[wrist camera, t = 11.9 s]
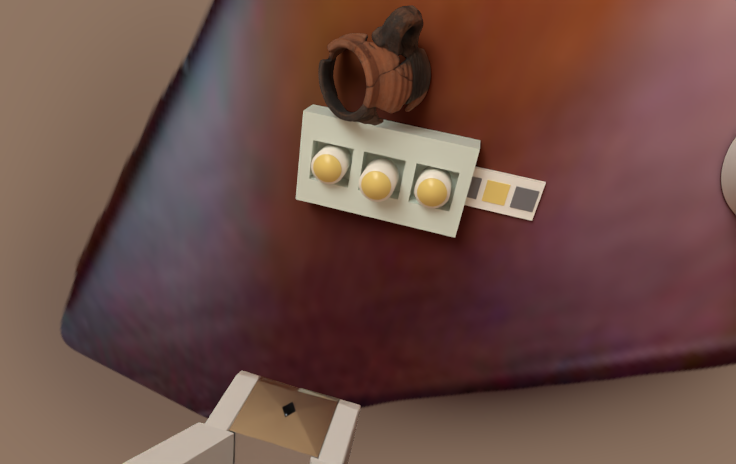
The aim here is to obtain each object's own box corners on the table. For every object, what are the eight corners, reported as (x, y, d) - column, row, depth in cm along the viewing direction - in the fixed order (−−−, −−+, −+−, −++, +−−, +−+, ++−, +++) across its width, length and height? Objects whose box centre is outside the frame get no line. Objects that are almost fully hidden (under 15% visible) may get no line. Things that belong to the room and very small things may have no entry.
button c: (353, 146, 51) (346, 156, 48) (349, 177, 52) (341, 188, 50) (321, 139, 51) (312, 148, 48) (318, 170, 53) (308, 180, 50)
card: (545, 181, 49) (545, 183, 49) (531, 219, 51) (532, 221, 51) (459, 162, 50) (458, 164, 50) (449, 200, 52) (448, 201, 52)
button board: (480, 140, 48) (479, 149, 46) (456, 225, 53) (455, 237, 51) (312, 104, 51) (303, 110, 48) (304, 189, 55) (295, 199, 53)
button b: (402, 162, 49) (396, 173, 46) (395, 194, 50) (390, 206, 48) (368, 154, 49) (360, 164, 46) (362, 186, 51) (355, 198, 48)
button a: (455, 169, 49) (453, 180, 46) (447, 200, 51) (445, 212, 48) (421, 161, 50) (417, 172, 47) (414, 192, 51) (410, 204, 49)
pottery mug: (413, 133, 50) (358, 151, 45) (357, 78, 53) (299, 89, 48) (471, 29, 42) (412, 37, 36) (400, -30, 45) (336, -31, 39)
